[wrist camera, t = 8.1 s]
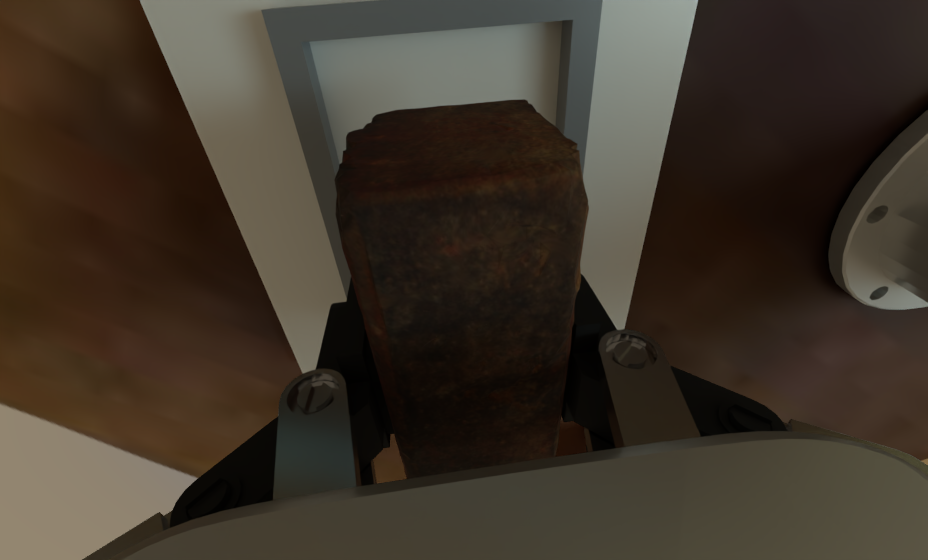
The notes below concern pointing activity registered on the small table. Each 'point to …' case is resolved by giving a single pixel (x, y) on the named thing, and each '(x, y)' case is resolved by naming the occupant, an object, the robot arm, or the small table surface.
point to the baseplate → (408, 87)
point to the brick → (466, 276)
